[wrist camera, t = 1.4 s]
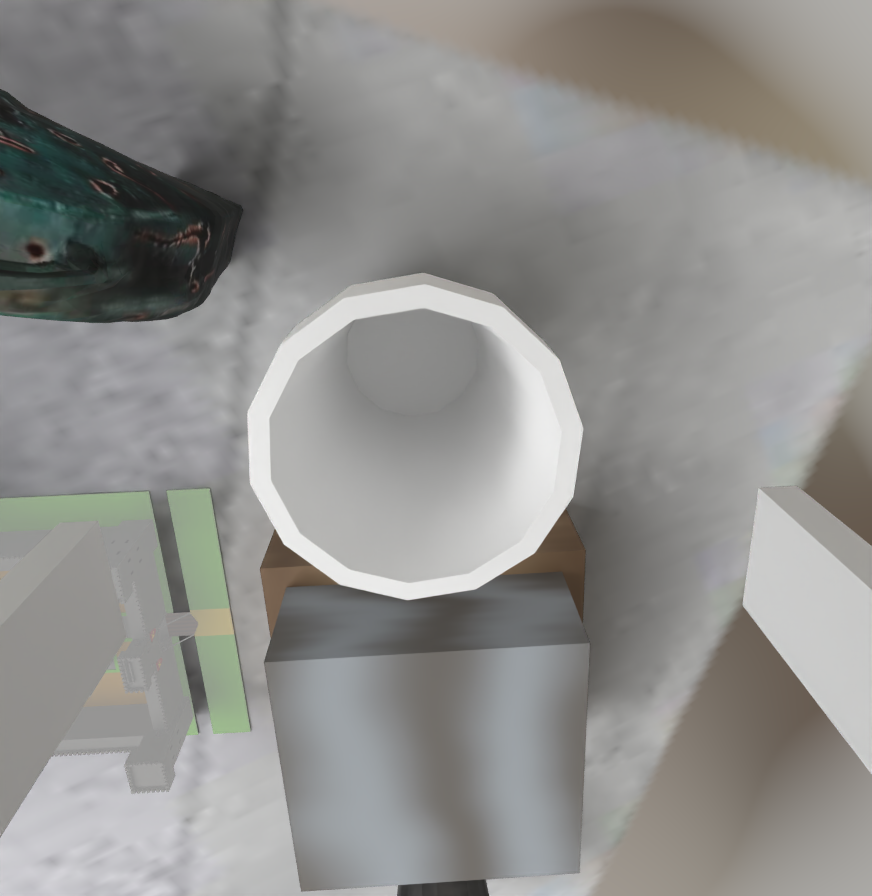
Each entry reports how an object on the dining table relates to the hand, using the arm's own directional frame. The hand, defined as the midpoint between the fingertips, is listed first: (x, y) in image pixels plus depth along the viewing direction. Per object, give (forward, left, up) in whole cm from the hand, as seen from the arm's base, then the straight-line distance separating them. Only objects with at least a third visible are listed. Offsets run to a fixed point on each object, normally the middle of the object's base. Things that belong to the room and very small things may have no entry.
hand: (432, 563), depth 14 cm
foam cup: (0, 0, -19) cm, 19 cm away
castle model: (-18, -14, -20) cm, 30 cm away
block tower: (0, -15, -19) cm, 24 cm away
